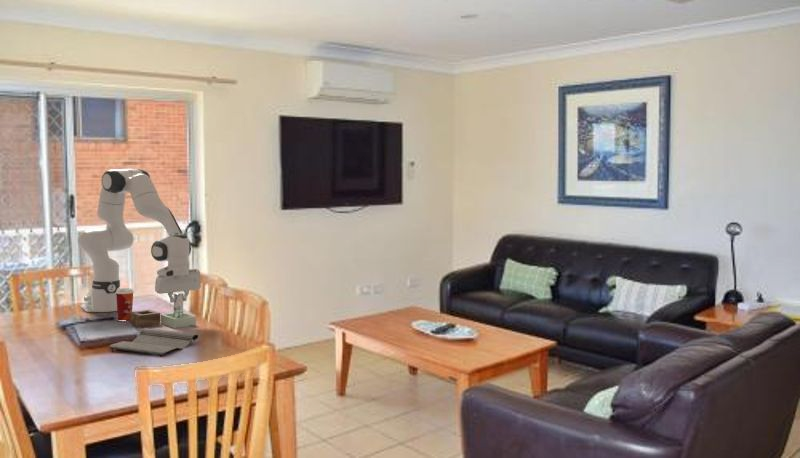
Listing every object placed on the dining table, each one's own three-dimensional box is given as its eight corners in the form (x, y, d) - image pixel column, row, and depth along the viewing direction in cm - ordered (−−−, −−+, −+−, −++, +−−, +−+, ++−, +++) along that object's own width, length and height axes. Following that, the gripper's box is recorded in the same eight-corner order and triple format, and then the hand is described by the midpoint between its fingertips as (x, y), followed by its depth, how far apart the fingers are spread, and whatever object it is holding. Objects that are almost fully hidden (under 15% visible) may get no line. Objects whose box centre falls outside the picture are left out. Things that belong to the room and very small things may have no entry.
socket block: (130, 323, 290) (130, 312, 290) (150, 320, 297) (150, 309, 297) (139, 327, 284) (139, 315, 284) (160, 324, 291) (160, 312, 291)
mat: (107, 353, 244) (107, 340, 244) (146, 338, 267) (147, 327, 267) (163, 359, 239) (163, 346, 238) (198, 344, 262) (198, 332, 261)
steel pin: (171, 318, 292) (172, 293, 291) (180, 317, 295) (180, 292, 294) (176, 320, 289) (176, 295, 288) (184, 318, 292) (185, 294, 291)
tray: (160, 323, 292) (160, 314, 292) (181, 320, 300) (181, 311, 299) (174, 328, 284) (174, 319, 284) (195, 325, 292) (195, 316, 291)
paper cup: (129, 322, 292) (129, 291, 291) (112, 322, 292) (112, 290, 291) (137, 318, 300) (137, 288, 299) (120, 318, 300) (120, 287, 299)
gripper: (196, 267, 300) (196, 298, 301) (153, 271, 285) (153, 303, 286) (203, 269, 296) (203, 300, 297) (160, 273, 281) (160, 305, 282)
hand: (178, 301), depth 291 cm, fingers closed on steel pin, 4 cm apart
